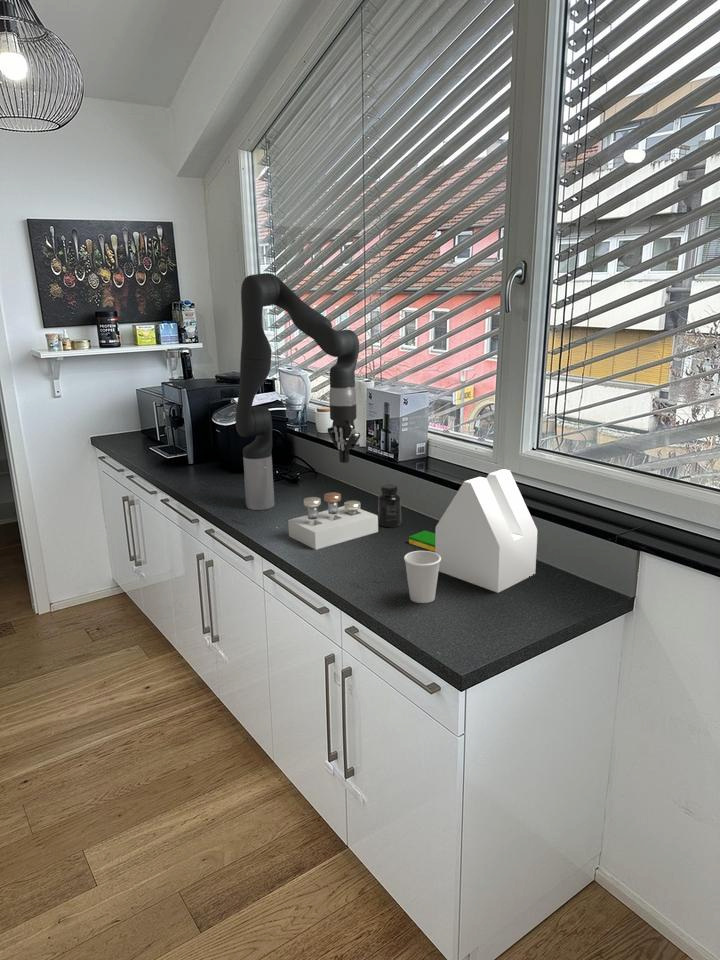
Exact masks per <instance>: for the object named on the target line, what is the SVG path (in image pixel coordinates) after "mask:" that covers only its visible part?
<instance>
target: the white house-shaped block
mask: <svg viewBox="0 0 720 960" xmlns="http://www.w3.org/2000/svg"><path fill="white" fill-rule="evenodd" d="M532 517H533V516H532V515H531V513H530V511H529V508H528V507H527V505H526V503H525V500H524V497H523V496H522V493H521V491H520V489H519V487H518V485H517V482H516V481H515V478H514V477H513V474H512V471H511V470H510V469H509V470H508V469H504V468H503V469H502V468H501V469H499V470H497V471H492V472H490V473H488V474H487V476H486V477H482V476H478V477H474V478H471V479H468V480H464V481H463V482H462V484H461V486H460V487H459V489H458V490H457V493H456V494H455V495H454V497H453V499H452V500H451V502H450V503H449V505H448V507H447V508H446V510H445V511H444V513H443V514H442V516H441V518H440V519H439V521H438V522H437V524H436V526H435V534H436V536H435V552H434V553H436V554H438V555H439V556H440V557H441V561H440V564H439V571H438V572H439V573H443V574H446V575H448V576H450V577H453V578H456V579H459V580H462V581H465V582H467V583H470V584H472V585H476V586H478V587H481V588H484V589H486V590H489V591H492V592H494V593H497V594H498V593H501V592H503V591H505V590H506V589H508V588H511V587H512V586H514V585H517V584H518V583H520V582H523V581H524V580H526V579H528V578H530V577H532V576H534V575H536V569H537V568H536V566H537V549H538V548H537V547H538V528H537V526H536V524H535V522H534V519H533V518H532ZM533 574H534V575H533ZM529 576H530V577H529Z"/></svg>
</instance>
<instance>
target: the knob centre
mask: <svg viewBox="0 0 720 960" xmlns="http://www.w3.org/2000/svg"><path fill="white" fill-rule="evenodd" d="M323 500H324V501H325V502H327V510H328V514H337V513H338V507H339V504H338V502H341V500H342V494H341V493H339V492H333V491H332V492H326V493H324V494H323Z"/></svg>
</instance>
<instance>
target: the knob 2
mask: <svg viewBox="0 0 720 960" xmlns="http://www.w3.org/2000/svg"><path fill="white" fill-rule="evenodd" d="M343 506H344V509H346V510H348V515H350V516H353V515H356V514H357V510H358V509H362V508H361V502H360V500H347V501H344V504H343Z"/></svg>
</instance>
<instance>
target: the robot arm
mask: <svg viewBox="0 0 720 960" xmlns="http://www.w3.org/2000/svg"><path fill="white" fill-rule="evenodd" d="M240 303H241V305H240V306H241V346H240V347H241V348H240V349H241V350H240V362H239V364H240V366H239V367H240V370H239V371H240V372H239V386H238V387H239V388H238V396H237V402H236V403H237V404H236V410H235V429H236V433H237V434H238V435H239V436H240V437H243V438H248V437H249V438H250V437H255V439H254V440H253V441H252V442H251V443H249V444H247V445H246V446H244V447H243V448H242V460H243V471H244V472H243V473H244V475H243V476H244V478H243V479H244V480H243V481H244V494H245V495H244V496H245V497H244V498H245V505H246V508H247V509H248V510H254V511H262V510H269V509H271V508H273V507H274V506H275V490H274V476H273V475H274V474H273V470H274V469H273V457H272V456H273V455H272V449H273V420H272V414H271V413H272V412H271V411H270V409H269V408H268V407H267V406H265V405H259V406H253V403H254V400H255V397H256V395H257V394H258V391H260V389H261V387H262V386H263V384H264V383H265V381H266V380H267V379H268V376H269V374H270V371H271V364H272V347H271V344H270V341H269V339H268V337H267V336H266V333H265V331H264V328H263V309H264V307H268V306H276V307H278V308H280V309H282V310H284V311H285V312H286V313H287V314H288V316H289V317H290V318H291V321H292V323H293V325H294V326H295V327H296V329H298V330H299V331H301V332H302V333H303V334H305V335H306V336H308V337H309V338H311V339H312V340H314V342H315V343H316V344H317V346H318V347H319V348H320V349H321V350H322V351H323V352H324V353H325V354H327V355H328V356H330V357H334V358H337V359H336V363H335V364H334V365H332V366H331V367H330V369H329V394H328V395H329V418H330V420H331V421H332V426H331V427H328V428H327V432H328V434H329V437H330V439H331V442H332V444H333V445H334V447H337V450H338V451H339V452H338V454H339V455H338V457H339V463H341V464H347V463H349V461H350V450H351V449H355V447H356V445H357V443H358V441H359V439H360V437H361V433H360V432H357V431H356V430H355V429H356V426H355V422H354V421H355V420H357V414H358V413H357V392H356V376H355V374H356V368H357V363H358V358H359V353H360V339H359V338H358V335H357V334H356V332H355V331H353V330H351V329H339V330H336V329H334V328H333V325H332V322H331V320H329V318H327V317H326V316H325V315H323V314H321V313H320V312H319V311H317V310H316V309H314V308H312V306H310V305H308V304H307V303H306V302H305V301H304V300H302V299H301V298H300V297H299V296H298V295H297V294H296V293H295V292H294V291H293V290H291V288H290V287H288V286H287V284H285V282H283V281H282V280H281V279H280V278H279V277H278V276H277V275H275V274H273V273H270V272H265V273H257V274H250V275H248V276H246V277H245V278H244V279H243V280H242V284H241V289H240Z"/></svg>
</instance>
